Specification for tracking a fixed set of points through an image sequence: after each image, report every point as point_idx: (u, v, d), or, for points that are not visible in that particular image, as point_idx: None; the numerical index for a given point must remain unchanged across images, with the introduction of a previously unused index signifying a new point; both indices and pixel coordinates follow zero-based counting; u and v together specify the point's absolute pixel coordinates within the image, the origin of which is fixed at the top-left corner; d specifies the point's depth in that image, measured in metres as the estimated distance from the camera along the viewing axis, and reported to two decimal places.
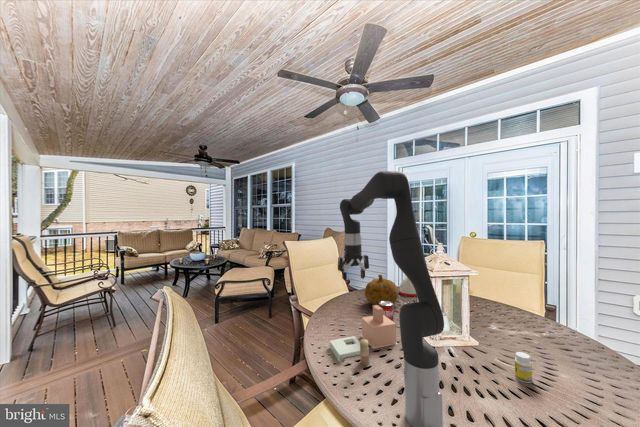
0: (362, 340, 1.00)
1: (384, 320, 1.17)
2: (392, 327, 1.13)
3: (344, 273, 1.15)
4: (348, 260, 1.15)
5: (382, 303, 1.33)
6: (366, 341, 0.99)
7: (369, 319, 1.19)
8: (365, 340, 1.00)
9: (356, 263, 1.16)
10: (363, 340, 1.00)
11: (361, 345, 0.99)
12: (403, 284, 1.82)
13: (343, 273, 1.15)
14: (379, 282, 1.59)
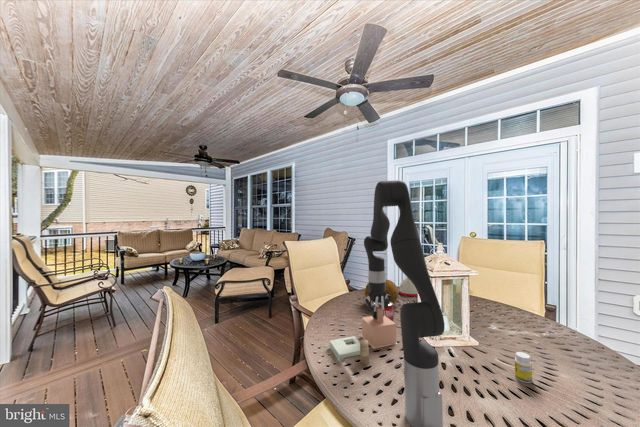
0: (362, 340, 1.00)
1: (384, 320, 1.17)
2: (392, 327, 1.13)
3: (374, 312, 1.16)
4: (373, 299, 1.15)
5: None
6: (366, 341, 0.99)
7: (369, 319, 1.19)
8: (365, 340, 1.00)
9: (379, 299, 1.16)
10: (363, 340, 1.00)
11: (361, 345, 0.99)
12: (403, 284, 1.82)
13: (373, 312, 1.16)
14: None
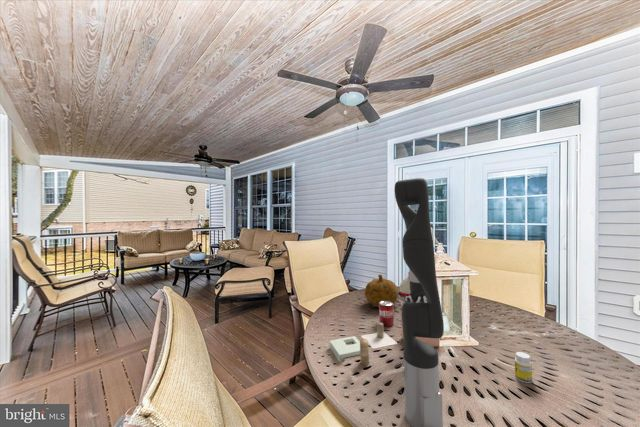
0: (362, 340, 1.00)
1: None
2: None
3: None
4: (415, 298, 1.12)
5: (382, 303, 1.33)
6: (366, 341, 0.99)
7: None
8: (365, 340, 1.00)
9: (421, 300, 1.13)
10: (363, 340, 1.00)
11: (361, 345, 0.99)
12: (403, 284, 1.82)
13: None
14: (379, 282, 1.59)
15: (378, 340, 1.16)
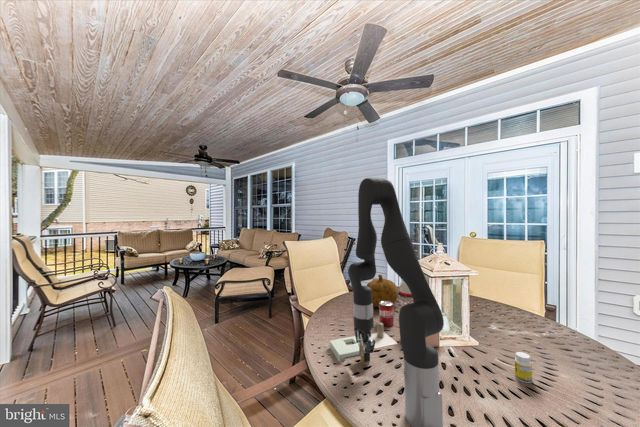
0: None
1: None
2: None
3: None
4: None
5: (382, 303, 1.33)
6: None
7: None
8: None
9: None
10: None
11: (361, 345, 0.99)
12: (403, 284, 1.82)
13: (359, 347, 1.02)
14: (379, 282, 1.59)
15: (378, 340, 1.16)
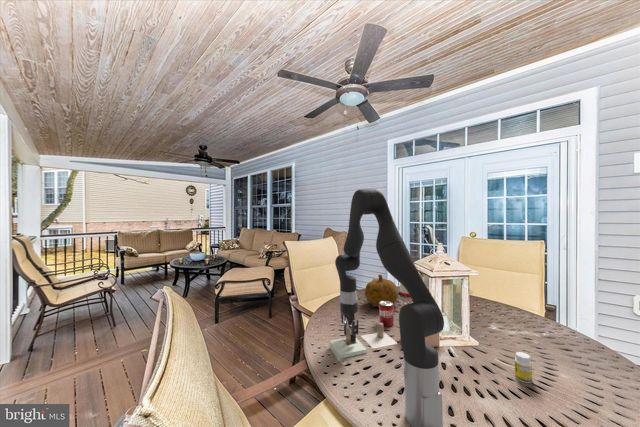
0: None
1: None
2: None
3: None
4: None
5: (382, 303, 1.33)
6: None
7: None
8: (350, 325, 1.13)
9: None
10: None
11: (347, 329, 1.12)
12: None
13: (344, 326, 1.17)
14: (379, 282, 1.59)
15: (378, 340, 1.16)
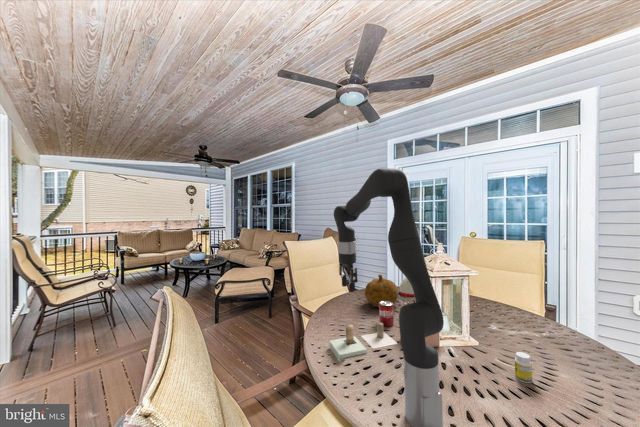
0: (348, 325, 1.13)
1: None
2: None
3: (342, 278, 1.17)
4: (342, 267, 1.15)
5: (382, 303, 1.33)
6: (351, 326, 1.13)
7: None
8: (350, 325, 1.13)
9: (346, 273, 1.11)
10: (349, 325, 1.13)
11: (346, 329, 1.12)
12: (403, 284, 1.82)
13: (342, 278, 1.18)
14: (379, 282, 1.59)
15: (378, 340, 1.16)
